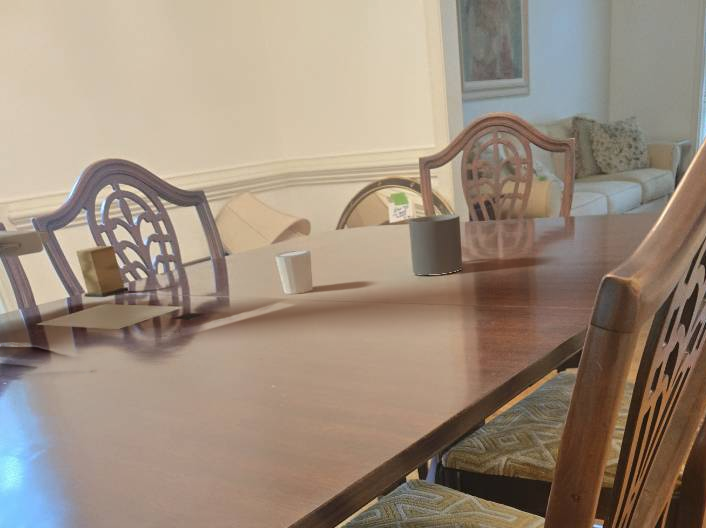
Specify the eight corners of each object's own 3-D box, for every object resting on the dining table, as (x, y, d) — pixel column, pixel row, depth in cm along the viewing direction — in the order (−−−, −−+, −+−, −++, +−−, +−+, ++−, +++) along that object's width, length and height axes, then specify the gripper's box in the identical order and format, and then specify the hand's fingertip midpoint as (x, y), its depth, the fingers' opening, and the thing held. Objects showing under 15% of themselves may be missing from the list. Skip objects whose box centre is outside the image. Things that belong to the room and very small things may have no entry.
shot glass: (274, 294, 149) (268, 257, 146) (291, 287, 155) (286, 250, 151) (305, 294, 147) (299, 256, 143) (321, 286, 152) (316, 249, 149)
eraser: (86, 301, 163) (72, 251, 158) (111, 293, 168) (98, 245, 164) (104, 301, 161) (90, 251, 156) (129, 294, 166) (116, 245, 161)
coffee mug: (461, 273, 150) (458, 218, 146) (411, 277, 151) (406, 223, 147) (463, 262, 162) (460, 210, 157) (416, 266, 163) (412, 215, 158)
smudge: (173, 324, 134) (171, 318, 134) (189, 318, 137) (188, 313, 137) (189, 325, 132) (188, 319, 132) (205, 319, 135) (204, 313, 135)
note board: (37, 329, 141) (35, 324, 141) (105, 309, 153) (104, 304, 153) (119, 334, 131) (117, 328, 130) (185, 312, 143) (184, 306, 142)
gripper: (-6, 229, 131) (61, 218, 141) (-74, 230, 141) (-7, 219, 151) (6, 268, 134) (71, 254, 144) (-62, 266, 144) (3, 253, 154)
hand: (31, 236), depth 148 cm, fingers open, 8 cm apart
